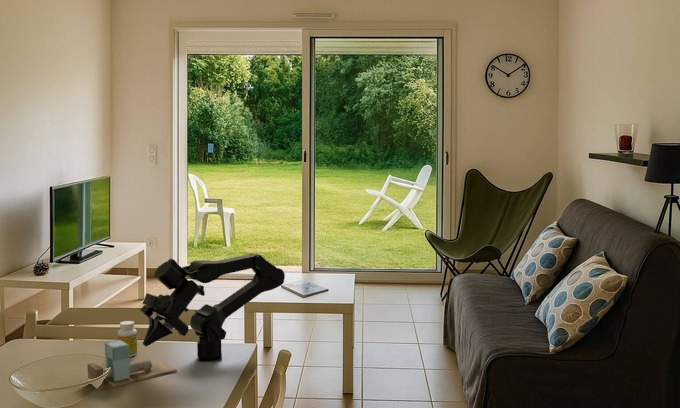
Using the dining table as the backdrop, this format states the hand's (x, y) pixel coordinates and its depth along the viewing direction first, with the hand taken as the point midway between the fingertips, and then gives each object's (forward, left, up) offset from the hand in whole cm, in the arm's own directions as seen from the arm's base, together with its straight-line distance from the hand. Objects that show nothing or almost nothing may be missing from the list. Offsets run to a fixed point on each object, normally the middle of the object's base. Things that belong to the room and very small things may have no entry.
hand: (144, 345), depth 185 cm
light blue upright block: (+7, +4, -8) cm, 11 cm away
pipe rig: (+3, +2, -8) cm, 9 cm away
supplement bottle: (+6, -17, -8) cm, 20 cm away
